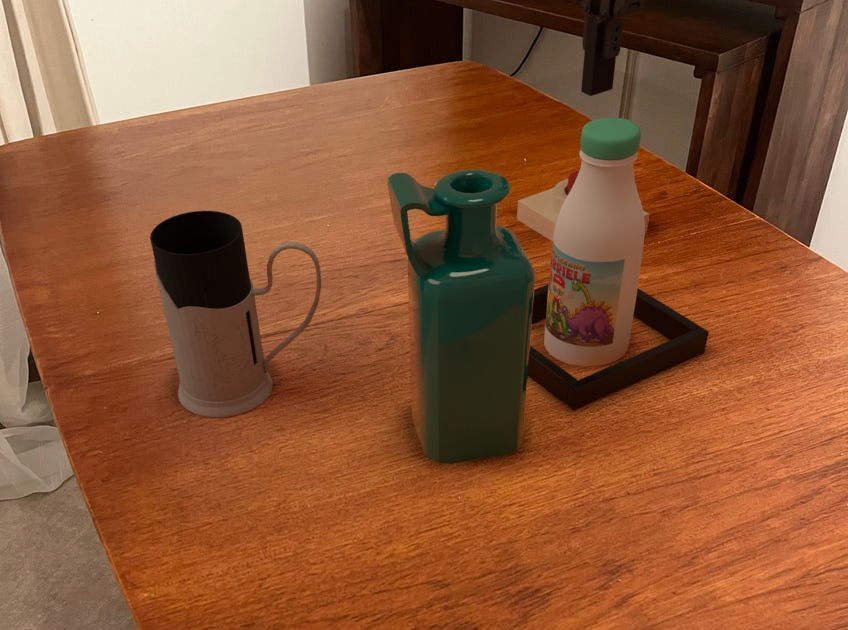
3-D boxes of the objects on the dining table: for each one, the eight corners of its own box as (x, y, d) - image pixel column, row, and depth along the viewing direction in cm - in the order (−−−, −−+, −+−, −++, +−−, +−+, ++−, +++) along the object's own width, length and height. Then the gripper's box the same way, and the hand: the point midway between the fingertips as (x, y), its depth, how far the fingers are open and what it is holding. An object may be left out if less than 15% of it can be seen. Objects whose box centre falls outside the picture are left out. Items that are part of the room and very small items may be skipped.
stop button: (608, 195, 107) (610, 178, 106) (581, 204, 106) (583, 188, 105) (586, 183, 109) (588, 166, 108) (559, 192, 108) (561, 175, 107)
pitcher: (502, 400, 90) (515, 145, 73) (528, 459, 84) (549, 197, 68) (393, 417, 89) (382, 163, 73) (412, 477, 83) (405, 216, 67)
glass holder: (186, 363, 97) (152, 208, 85) (334, 359, 96) (320, 202, 85) (170, 418, 91) (132, 260, 80) (328, 414, 90) (312, 254, 79)
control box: (646, 233, 108) (652, 196, 105) (580, 259, 106) (584, 221, 103) (580, 196, 115) (584, 160, 112) (516, 219, 112) (518, 183, 109)
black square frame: (703, 360, 92) (709, 331, 90) (572, 418, 88) (576, 389, 85) (595, 292, 101) (598, 263, 99) (472, 341, 96) (472, 313, 94)
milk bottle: (579, 319, 98) (604, 99, 83) (644, 349, 94) (682, 124, 79) (525, 352, 95) (541, 129, 80) (591, 385, 91) (620, 156, 76)
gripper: (540, -222, 85) (525, 81, 102) (646, -204, 77) (610, 120, 95) (610, -236, 87) (584, 62, 105) (719, -220, 80) (671, 100, 97)
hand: (596, 90), depth 100 cm, fingers closed
